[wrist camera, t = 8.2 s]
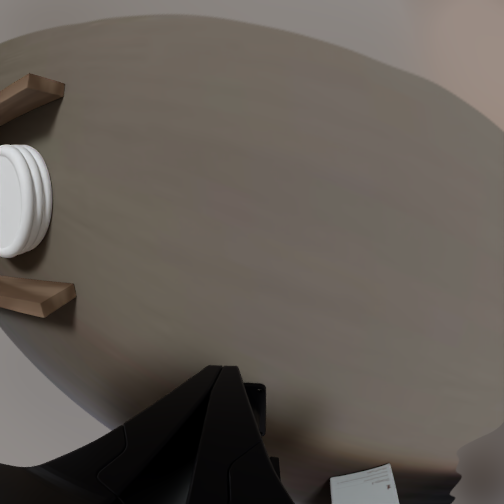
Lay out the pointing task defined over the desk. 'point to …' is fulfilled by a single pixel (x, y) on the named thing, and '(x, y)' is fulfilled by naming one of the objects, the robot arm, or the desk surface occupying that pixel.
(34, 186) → the coaster
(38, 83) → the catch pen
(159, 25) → the desk surface
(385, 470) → the supplement box
